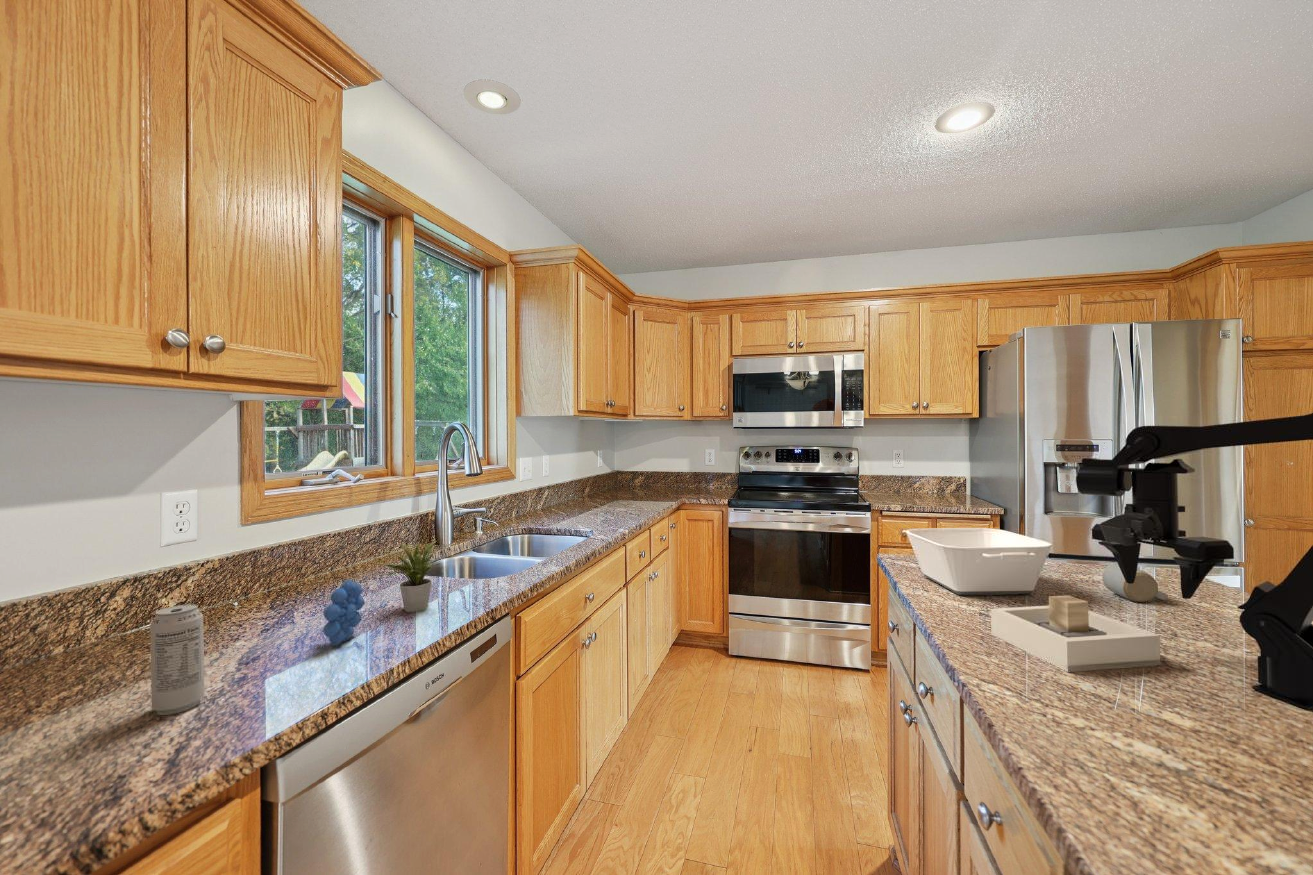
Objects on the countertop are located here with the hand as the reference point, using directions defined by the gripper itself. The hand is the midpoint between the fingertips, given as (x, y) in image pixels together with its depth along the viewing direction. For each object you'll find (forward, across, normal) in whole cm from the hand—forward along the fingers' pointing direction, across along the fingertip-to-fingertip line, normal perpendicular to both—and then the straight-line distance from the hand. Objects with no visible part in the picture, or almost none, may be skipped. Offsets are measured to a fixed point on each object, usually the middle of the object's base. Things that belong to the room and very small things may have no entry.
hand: (1156, 590), depth 90 cm
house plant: (+12, -54, -139) cm, 150 cm away
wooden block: (+11, -7, -10) cm, 16 cm away
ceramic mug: (+12, -31, +31) cm, 45 cm away
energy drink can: (+12, -8, -159) cm, 160 cm away
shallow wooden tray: (+12, -7, -10) cm, 17 cm away
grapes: (+12, -33, -147) cm, 151 cm away
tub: (+12, -47, +2) cm, 49 cm away
